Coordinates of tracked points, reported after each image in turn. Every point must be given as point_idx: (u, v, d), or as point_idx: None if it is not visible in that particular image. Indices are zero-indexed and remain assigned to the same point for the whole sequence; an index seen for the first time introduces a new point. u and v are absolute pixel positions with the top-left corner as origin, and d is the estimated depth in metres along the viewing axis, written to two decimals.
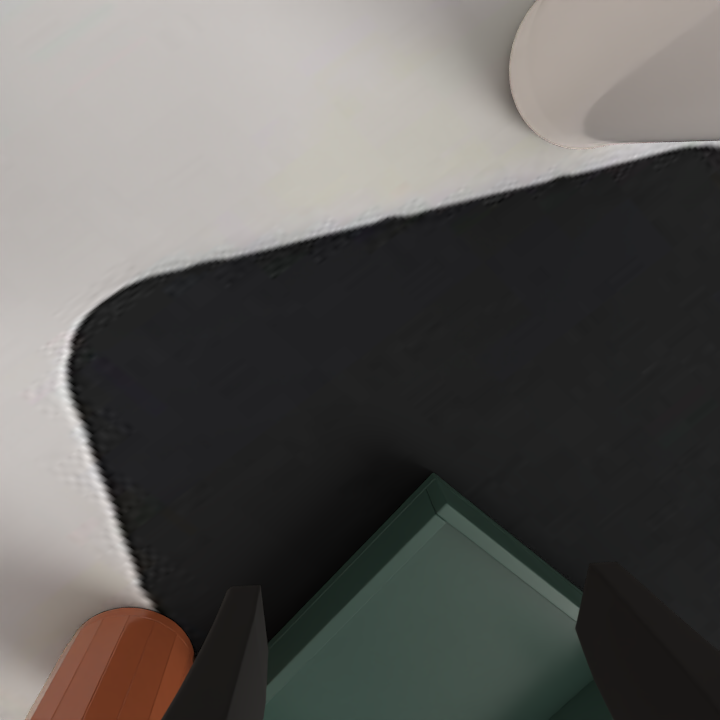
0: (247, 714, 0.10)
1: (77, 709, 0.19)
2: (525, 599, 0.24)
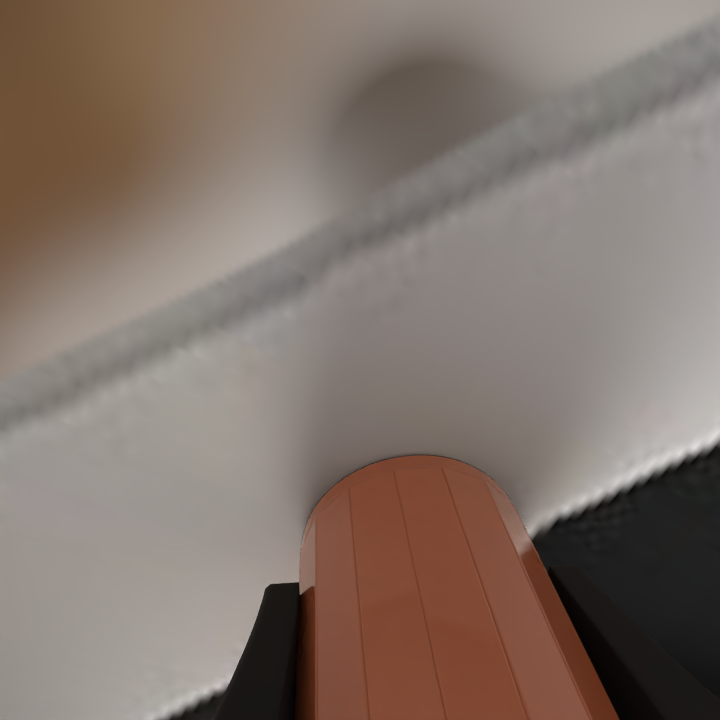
0: (292, 711, 0.10)
1: None
2: None
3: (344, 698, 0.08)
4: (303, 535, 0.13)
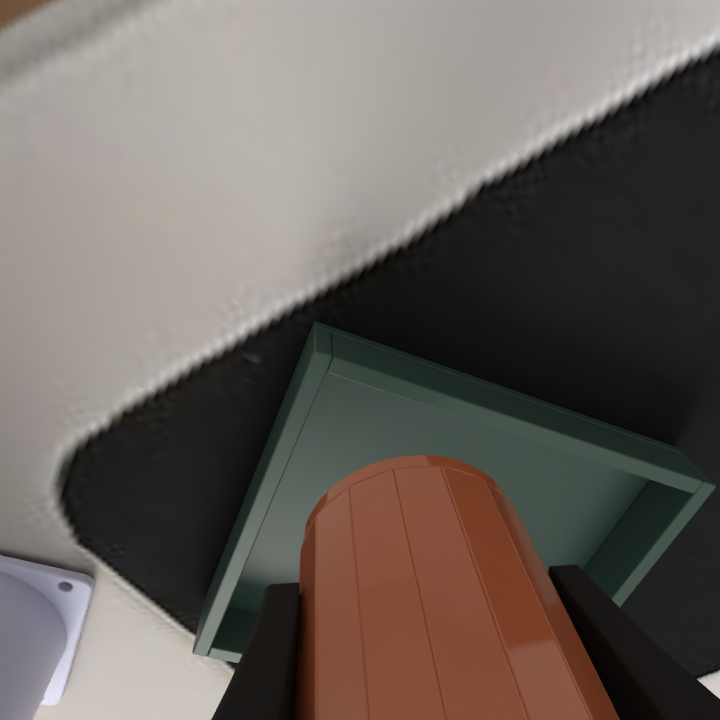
0: (292, 711, 0.10)
1: None
2: None
3: (344, 698, 0.08)
4: (303, 535, 0.13)
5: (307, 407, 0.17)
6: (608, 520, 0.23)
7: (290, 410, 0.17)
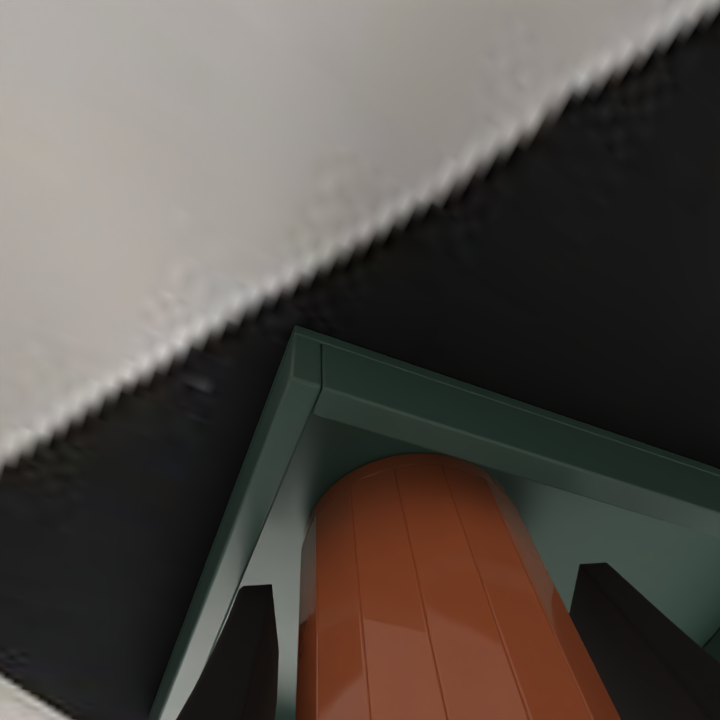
0: (260, 713, 0.10)
1: None
2: None
3: (345, 693, 0.08)
4: (304, 532, 0.13)
5: (281, 469, 0.10)
6: None
7: (252, 474, 0.10)
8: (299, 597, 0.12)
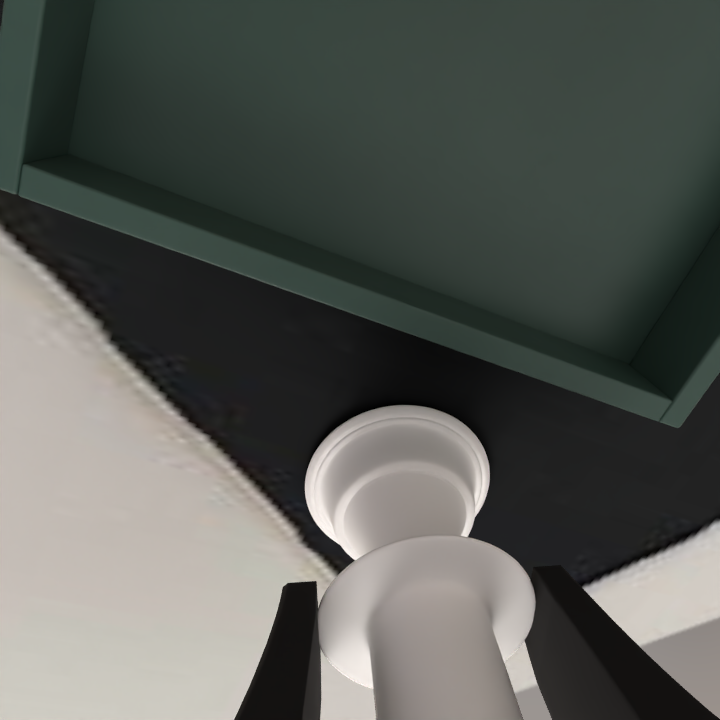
0: (312, 709, 0.10)
1: None
2: None
3: None
4: None
5: None
6: None
7: None
8: None
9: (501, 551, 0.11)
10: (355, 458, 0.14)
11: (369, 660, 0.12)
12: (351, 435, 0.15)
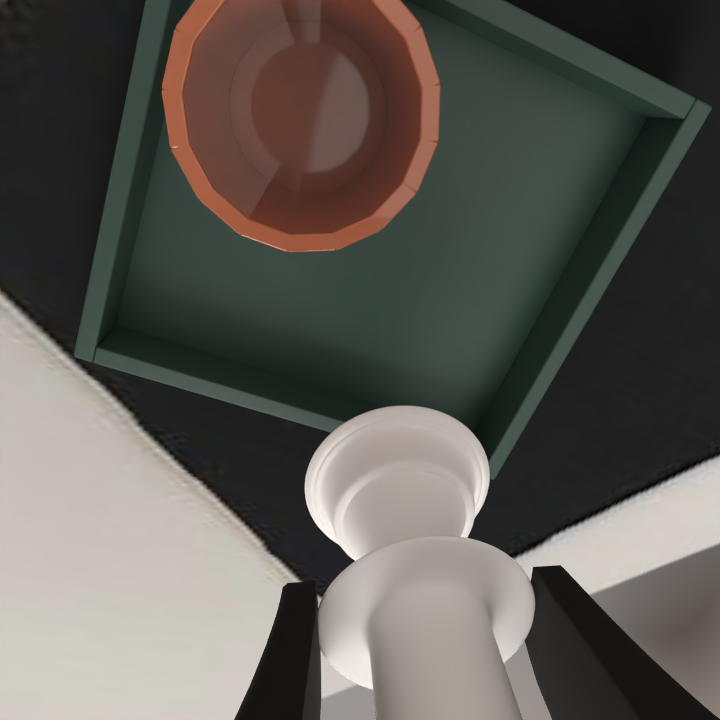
0: (312, 709, 0.10)
1: None
2: (516, 294, 0.20)
3: None
4: None
5: None
6: (583, 210, 0.19)
7: None
8: None
9: (501, 551, 0.11)
10: (354, 459, 0.14)
11: (369, 661, 0.12)
12: (351, 436, 0.15)
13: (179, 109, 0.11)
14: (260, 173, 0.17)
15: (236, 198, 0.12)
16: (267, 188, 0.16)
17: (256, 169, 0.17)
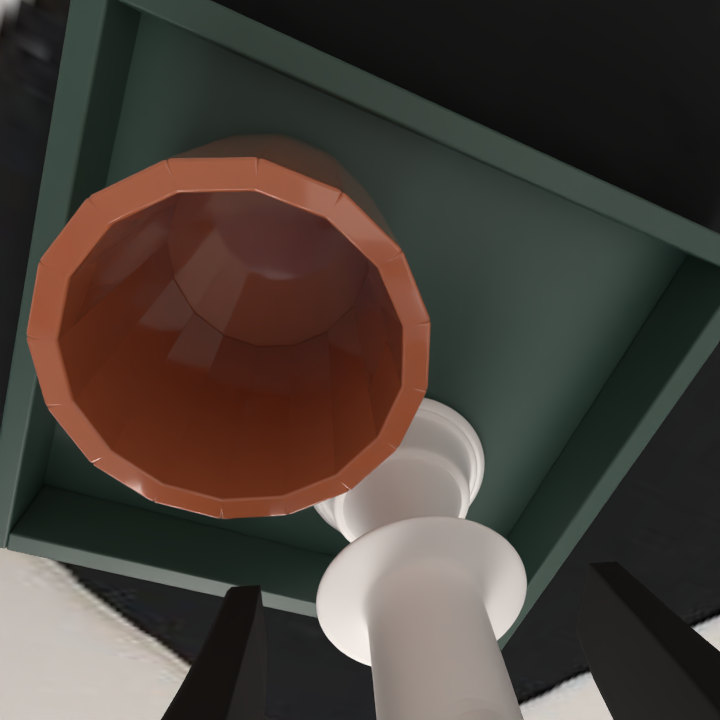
0: (247, 714, 0.10)
1: None
2: (524, 445, 0.16)
3: None
4: None
5: (87, 72, 0.10)
6: (607, 355, 0.15)
7: (59, 78, 0.10)
8: None
9: (494, 532, 0.12)
10: None
11: (367, 637, 0.12)
12: None
13: (54, 361, 0.07)
14: (211, 325, 0.14)
15: (152, 440, 0.09)
16: (216, 355, 0.13)
17: (206, 321, 0.14)
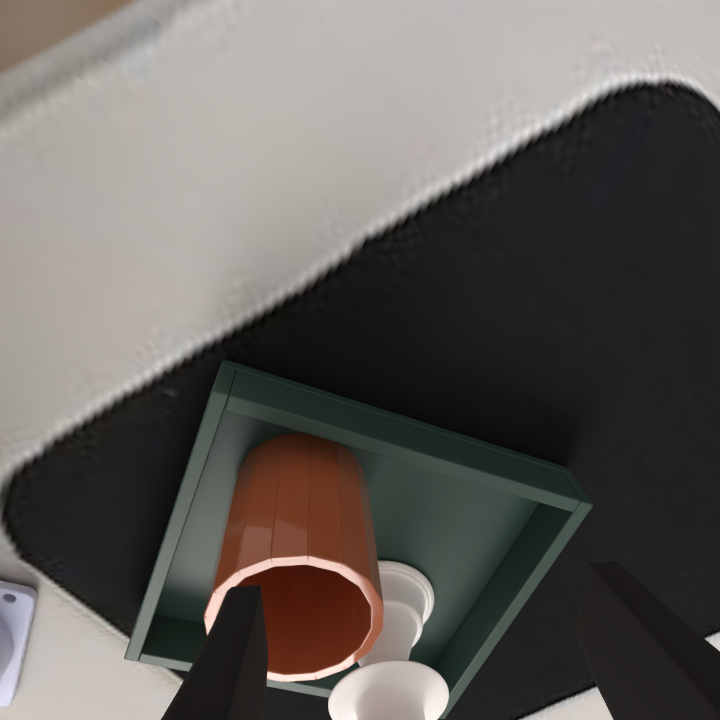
0: (247, 714, 0.10)
1: (374, 559, 0.18)
2: (460, 585, 0.26)
3: (233, 543, 0.17)
4: None
5: (210, 439, 0.19)
6: (509, 534, 0.24)
7: (195, 442, 0.19)
8: (226, 514, 0.20)
9: None
10: None
11: None
12: None
13: None
14: None
15: None
16: None
17: None
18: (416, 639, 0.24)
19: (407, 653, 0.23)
